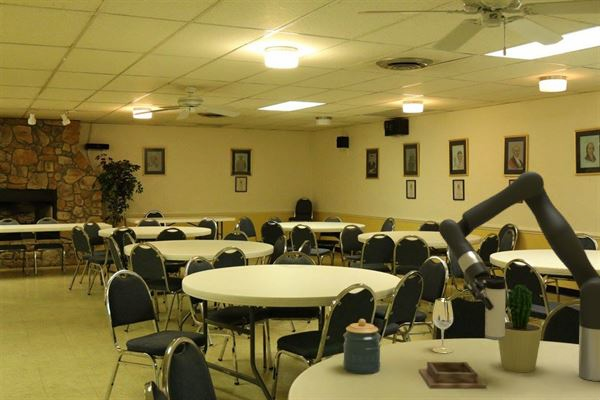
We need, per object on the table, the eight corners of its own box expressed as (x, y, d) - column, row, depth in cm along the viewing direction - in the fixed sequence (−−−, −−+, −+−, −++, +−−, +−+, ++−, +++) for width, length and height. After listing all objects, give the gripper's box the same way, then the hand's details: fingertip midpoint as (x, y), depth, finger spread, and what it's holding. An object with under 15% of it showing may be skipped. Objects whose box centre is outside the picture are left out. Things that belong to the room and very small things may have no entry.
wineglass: (454, 353, 243) (455, 301, 242) (434, 353, 243) (435, 301, 243) (450, 348, 251) (450, 298, 250) (430, 348, 251) (431, 297, 250)
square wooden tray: (470, 371, 219) (471, 360, 219) (486, 388, 201) (486, 376, 201) (419, 371, 219) (419, 359, 219) (430, 388, 201) (430, 375, 201)
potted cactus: (508, 359, 236) (509, 278, 235) (548, 367, 225) (550, 283, 224) (487, 367, 225) (488, 283, 224) (528, 376, 214) (530, 288, 213)
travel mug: (507, 337, 211) (508, 277, 210) (501, 341, 205) (502, 280, 205) (488, 334, 214) (489, 275, 214) (482, 338, 209) (483, 278, 208)
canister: (335, 369, 221) (336, 318, 221) (358, 361, 231) (358, 313, 230) (365, 377, 213) (365, 324, 212) (387, 369, 222) (388, 318, 222)
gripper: (463, 262, 212) (489, 303, 202) (494, 259, 219) (521, 299, 209) (452, 275, 217) (476, 316, 207) (483, 273, 224) (508, 312, 214)
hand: (498, 307), depth 208 cm, fingers closed on travel mug, 6 cm apart
